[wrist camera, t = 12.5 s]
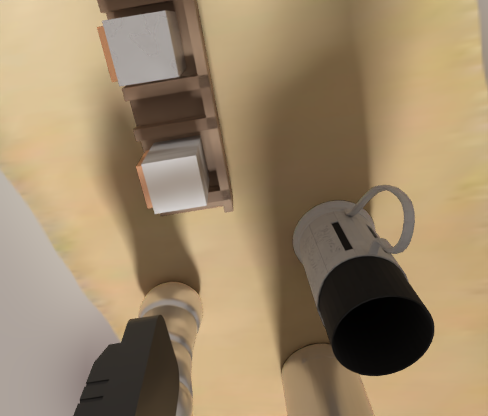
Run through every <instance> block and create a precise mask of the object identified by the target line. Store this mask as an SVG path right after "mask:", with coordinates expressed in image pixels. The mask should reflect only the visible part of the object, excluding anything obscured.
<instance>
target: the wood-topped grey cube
mask: <svg viewBox="0 0 488 416" xmlns="http://www.w3.org/2000/svg"><path fill="white" fill-rule="evenodd" d="M102 23H103V26H101V27H97V29H98V33H99V37H100V40H101V44H102V48H103V51H104V55H105V59H106V62H107V66H108V70H109V73H110V77H111V81H112V82H116V81H118V83H119V86H125V85H132V84H138V83H144V82H150V81H157V80H163V79H169V78H175V77H179V76H180V75H181V74H182V73H183V71H184V70H185V69H186V62H185V57H184V52H183V47H182V42H181V37H180V32H179V27H178V22H177V17H176V12H172V11H166V10H165V11H159V12H153V13H147V14H140V15H134V16H128V17H122V18H116V19H110V20H104V21H102Z"/></svg>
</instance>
